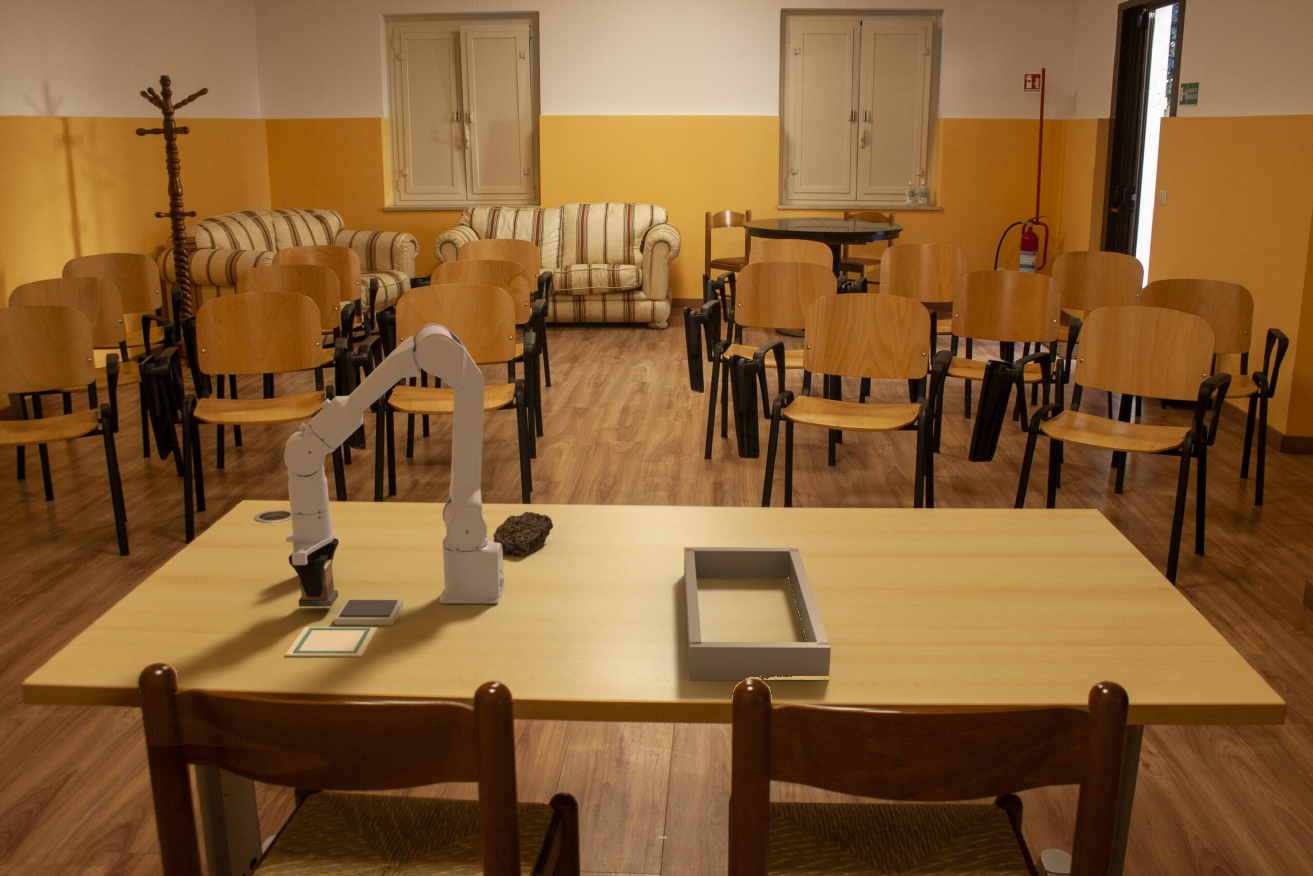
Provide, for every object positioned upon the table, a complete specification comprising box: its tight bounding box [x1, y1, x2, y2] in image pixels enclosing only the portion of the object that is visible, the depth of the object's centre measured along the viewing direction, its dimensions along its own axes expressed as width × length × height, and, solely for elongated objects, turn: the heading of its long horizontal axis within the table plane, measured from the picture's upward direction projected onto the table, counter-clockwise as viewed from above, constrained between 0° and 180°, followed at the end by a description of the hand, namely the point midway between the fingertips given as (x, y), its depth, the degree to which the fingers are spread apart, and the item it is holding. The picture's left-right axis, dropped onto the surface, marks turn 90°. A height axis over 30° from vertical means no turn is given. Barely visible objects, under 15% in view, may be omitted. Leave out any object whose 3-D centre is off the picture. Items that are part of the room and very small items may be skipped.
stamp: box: [297, 560, 339, 608], centre depth 172 cm, size 5×4×6 cm
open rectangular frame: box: [683, 546, 832, 681], centre depth 169 cm, size 19×37×5 cm, turn 0°
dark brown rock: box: [492, 511, 554, 557], centre depth 200 cm, size 12×10×5 cm
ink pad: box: [333, 599, 404, 626], centre depth 171 cm, size 9×7×1 cm
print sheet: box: [285, 626, 379, 658], centre depth 162 cm, size 11×9×1 cm
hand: (318, 590), depth 173 cm, fingers closed on stamp, 3 cm apart
